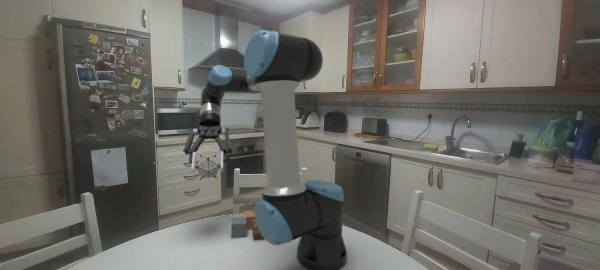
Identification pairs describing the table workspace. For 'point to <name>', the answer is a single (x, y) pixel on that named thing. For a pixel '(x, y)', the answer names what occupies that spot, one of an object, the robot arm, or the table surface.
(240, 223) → the slate block
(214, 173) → the game die
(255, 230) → the walnut block
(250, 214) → the terracotta block
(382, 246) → the table surface
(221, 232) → the table surface
